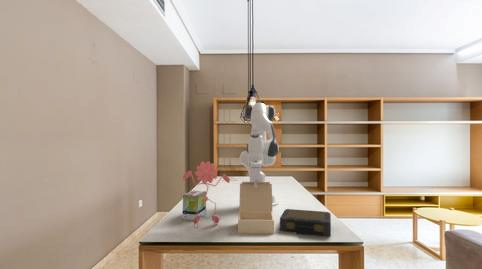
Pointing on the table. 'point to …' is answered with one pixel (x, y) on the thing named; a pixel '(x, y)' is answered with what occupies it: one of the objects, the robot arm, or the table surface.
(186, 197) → the tea box
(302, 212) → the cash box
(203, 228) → the table surface
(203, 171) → the figurine
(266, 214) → the mailer box
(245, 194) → the lid
